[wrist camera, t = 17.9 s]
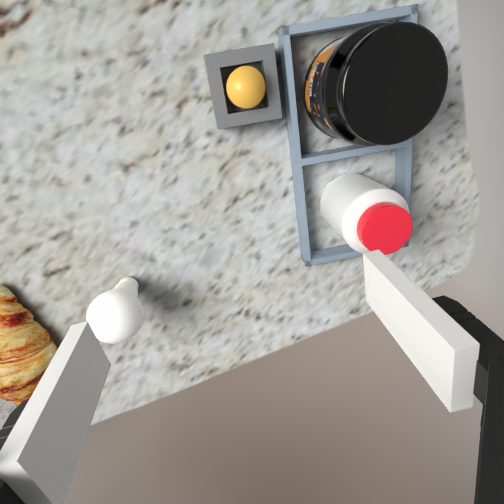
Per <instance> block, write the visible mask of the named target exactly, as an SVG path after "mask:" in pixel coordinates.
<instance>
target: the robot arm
mask: <svg viewBox="0 0 504 504" xmlns="http://www.w3.org/2000/svg"><path fill="white" fill-rule="evenodd" d="M363 262H364V276H365V290H366V301H367V303H368V304H369V305H370V307H371V308H372V309H373V311H374V312H375V313H376V315H377V316H378V317H379V319H380V320H381V321H382V323H383V324H384V325H385V326H386V328H387V329H388V331H389V332H390V333H391V335H392V336H393V337H394V338H395V340H396V341H397V343H398V344H399V345H400V346H401V348H402V349H403V350H404V352H405V353H406V354H407V356H408V357H409V358H410V360H411V361H412V362H413V364H414V365H415V366H416V368H417V369H418V370H419V372H420V373H421V374H422V376H423V377H424V378H425V380H426V381H427V382H428V384H429V385H430V386H431V388H432V389H433V390H434V392H435V393H436V394H437V396H438V397H439V398H440V400H441V401H442V402H443V404H444V405H445V406H446V408H447V409H448V410H449V412H455V411H459V410H463V409H467V408H471V407H473V400H474V395H475V396H476V397H477V398H478V399H479V400H480V402H481V403H482V404H483V410H482V417H481V425H480V426H481V432H480V443H479V454H478V455H479V456H478V466H477V477H476V488H475V499H474V504H504V340H502V339H501V338H500V337H499V336H498V335H496V334H495V333H494V332H493V331H492V330H491V329H489V328H488V327H487V326H486V325H484V324H483V323H482V322H481V321H480V320H479V319H476V317H475V316H474V315H473V314H472V313H471V312H468V310H467V309H466V308H465V307H463V306H462V305H461V304H460V303H459V302H458V301H455V300H453V299H451V298H448V297H446V296H440V297H436V298H432V299H431V298H430V297H429V296H428V295H427V294H426V293H425V292H424V291H423V290H422V289H420V288H419V287H418V286H417V285H416V284H415V283H414V282H413V281H412V280H411V279H410V278H409V277H408V276H407V275H405V274H404V273H403V272H402V271H401V270H400V269H399V268H398V267H397V266H396V265H395V264H394V263H393V262H392V261H390V260H389V259H388V258H387V257H386V256H385V255H384V254H383V253H382V252H381V251H380V250H379V249H378V250H374V251H370V252H366V253H363ZM110 366H111V364H110V362H109V360H108V358H107V356H106V355H105V353H104V351H103V349H102V347H101V345H100V343H99V341H98V340H97V338H96V336H95V334H94V332H93V330H92V328H91V326H90V325H89V323H88V321H87V322H83V323H79V324H75V325H71V327H70V329H69V330H68V332H67V334H66V336H65V338H64V339H63V341H62V343H61V345H60V346H59V348H58V350H57V352H56V353H55V355H54V357H53V359H52V360H51V362H50V364H49V366H48V368H47V369H46V371H45V373H44V375H43V376H42V378H41V380H40V382H39V383H38V385H37V387H36V389H35V390H34V392H33V394H32V396H31V397H30V399H29V400H27V401H23V402H21V404H20V405H19V406H18V407H17V408H16V409H15V410H14V411H13V412H12V413H11V414H10V415H9V417H8V419H7V420H6V422H5V424H4V425H3V427H2V428H3V429H2V430H1V431H0V504H63V503H64V500H65V497H66V494H67V491H68V488H69V486H70V483H71V479H72V477H73V473H74V471H75V468H76V465H77V462H78V459H79V456H80V453H81V450H82V448H83V445H84V442H85V439H86V436H87V433H88V430H89V427H90V424H91V421H92V419H93V416H94V413H95V410H96V407H97V404H98V401H99V398H100V395H101V392H102V389H103V386H104V384H105V381H106V378H107V375H108V372H109V369H110Z"/></svg>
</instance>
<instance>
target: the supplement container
mask: <svg viewBox="0 0 504 504" xmlns="http://www.w3.org/2000/svg"><path fill="white" fill-rule="evenodd" d="M447 81H448V65H447V59H446V55H445V52H444V49H443V47H442V45H441V43H440V42H439V40H438V39H437V37H436V36H435V35H434V34H433V33H432V32H431V31H430V30H428V29H427V28H425V27H424V26H421V25H419V24H416V23H413V22H394V23H390V22H380V23H374V24H370V25H367V26H364V27H362V28H360V29H358V30H356V31H355V32H353V33H351V34H350V35H348V36H345V37H342V38H339V39H337V40H335V41H332V42H331V43H329V44H328V45H326V46H325V47H324V48H323V49H322V50H321V51H320V52H319V53H318V54H317V55H316V56H315V58H314V59H313V61H312V62H311V64H310V66H309V68H308V70H307V73H306V76H305V79H304V85H303V101H304V106H305V110H306V113H307V115H308V117H309V119H310V120H311V122H312V123H313V124H314V126H315V127H316V128H317V129H319V130H320V131H321V132H323V133H324V134H326V135H328V136H331V137H334V138H340V139H343V140H345V141H347V142H349V143H352V144H355V145H359V146H378V145H394V144H398V143H401V142H404V141H406V140H408V139H410V138H412V137H414V136H415V135H416V134H418V133H419V132H420V131H422V130H423V129H424V128H425V127H426V126H427V125H428V124H429V122H430V121H431V120H432V119H433V117H434V116H435V114H436V113H437V111H438V109H439V107H440V105H441V103H442V101H443V98H444V95H445V92H446V87H447Z"/></svg>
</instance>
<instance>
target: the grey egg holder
mask: <svg viewBox="0 0 504 504" xmlns="http://www.w3.org/2000/svg"><path fill="white" fill-rule="evenodd" d="M204 60H205V65H206V71H207V76H208V81H209V86H210V92H211V97H212V102H213V108H214V113H215V118H216V123H217V128H218V129H223V128H229V127H235V126H240V125H246V124H251V123H257V122H263V121H268V120H274V119H279V118H282V111H281V102H280V94H279V85H278V76H277V67H276V58H275V49H274V43H272V44H266V45H260V46H254V47H248V48H242V49H236V50H230V51H224V52H219V53H213V54H207V55H204ZM241 66H251V67H254V68H256V69H257V70H258V71H259V72H260V73H261V74H262V76H263V78H264V81H265V94H264V97H263V99H262V100H261V101H260V103H259V104H257V105H256V106H254V107H252V108H241V107H238V106H236V105H234V104H233V103H232V102H231V101H230V100H229V99H228V97H227V94H226V81H227V79H228V77H229V75H230V74H231V73H232V72H233V71H234V70H235V69H237V68H239V67H241Z"/></svg>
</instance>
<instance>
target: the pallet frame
mask: <svg viewBox="0 0 504 504" xmlns="http://www.w3.org/2000/svg"><path fill="white" fill-rule="evenodd" d="M417 17H418V4H415V5H409V6H403V7H397V8H391V9H385V10H379V11H373V12H367V13H361V14H355V15H349V16H343V17H337V18H331V19H325V20H319V21H312V22H306V23H300V24H294V25H288V26H282V27H281V28H280V29H279V30H278V31H277V33H278V42H279V52H280V61H281V70H282V80H283V89H284V98H285V108H286V117H287V126H288V136H289V145H290V154H291V164H292V173H293V182H294V192H295V201H296V211H297V220H298V229H299V239H300V248H301V257H302V260H303V262H304V263H305V265H306V266H311V265H316V264H321V263H326V262H331V261H336V260H341V259H346V258H351V257H356V256H361V255H363V253H360V252H357V251H355V250H354V249H352V248H351V247H350V246H349V245H348V244H346V245H341V246H336V247H331V248H326V249H321V250H316V251H311V252H310V245H309V234H308V224H307V213H306V202H305V192H304V181H303V171H302V166H305V165H310V164H316V163H321V162H327V161H332V160H337V159H343V158H348V157H353V156H359V155H364V154H370V153H375V152H380V151H386V150H391V149H396V179H395V191H396V192H398V193H399V194H400V195H401V196H402V197H403V198H404V199H405V201H406V202H407V205H408V207H409V214H410V192H411V167H412V142H413V137H412V138H410V139H408V140H406V141H404V142H401V143H398V144H394V145H378V146H359V145H353V146H347V147H342V148H336V149H331V150H326V151H320V152H315V153H309V154H304V155H301V149H300V139H299V128H298V118H297V107H296V96H295V86H294V75H293V64H292V54H291V43H290V38H291V37H297V36H303V35H309V34H314V33H320V32H326V31H332V30H338V29H344V28H350V27H356V26H362V25H368V24H374V23H380V22H386V21H392V20H398V19H399V22H413V23H416V24H417ZM408 242H409V239H408V240H407V242H406V243H405V244H404V245H403V246H402V247H406V246H408Z"/></svg>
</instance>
